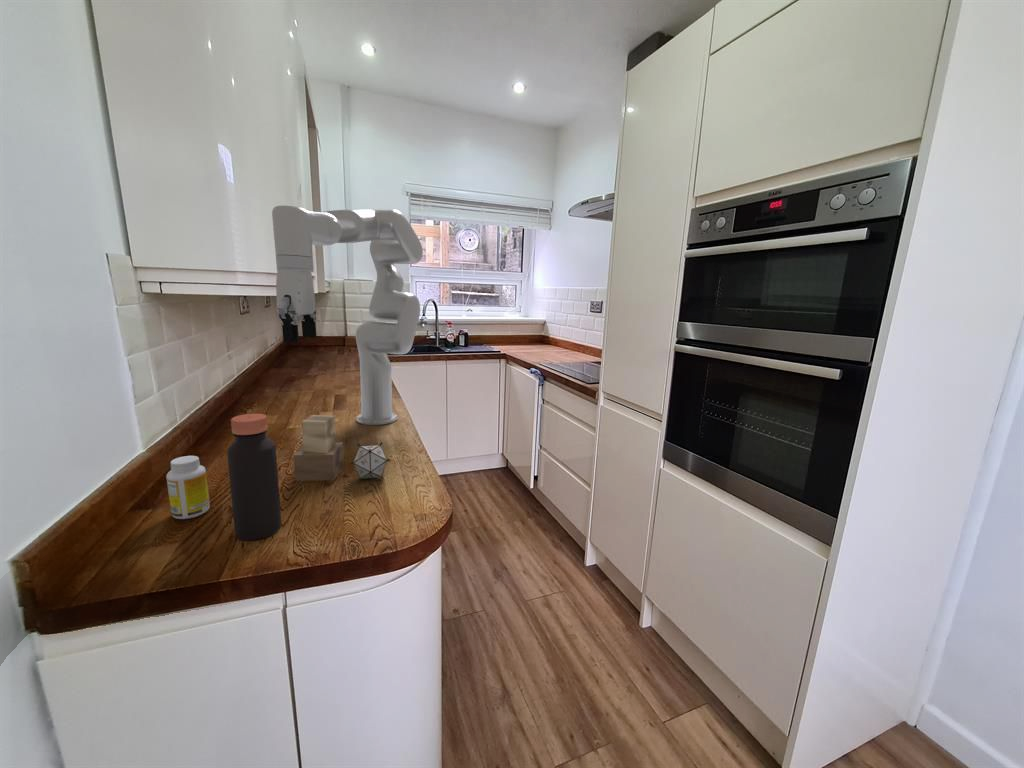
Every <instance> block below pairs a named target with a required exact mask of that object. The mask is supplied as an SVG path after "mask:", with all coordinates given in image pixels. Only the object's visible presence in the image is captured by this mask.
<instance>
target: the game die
mask: <svg viewBox="0 0 1024 768" xmlns="http://www.w3.org/2000/svg"><path fill="white" fill-rule="evenodd" d="M382 445H383V441H381V442H380V443H379V444H375V445H374V444H373V445H371V444H370V445H361V444H360V443H358V442H357V445H356V446H357V447H358V448H357V452H356V454H355V456H354V459H353V461H350V462H349V465H353V467H354V469H355V472H356V474H357V475H358V480H357V482H358V483H360V482H361V480H363V479H364V480H365V479H374V478H375V479H376V478H380V480H383V481H384V477H383V474H384V471H385V469H386V466H387V464H388V462H391V459H390V458H387V456H386V454H385V452H384V449H383V446H382Z"/></svg>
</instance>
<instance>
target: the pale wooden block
mask: <svg viewBox="0 0 1024 768" xmlns="http://www.w3.org/2000/svg"><path fill="white" fill-rule="evenodd" d="M335 417H336V416H335V415H324V414H323V415H321V414H311V415H310V416H308V417H307V418H305V419H303V420H301V433H302V447H303V452H315V453H327V452H328V451H329V450H331V449H332V448H333V447H334V446H335V445H336V441H337V440H336V419H335Z"/></svg>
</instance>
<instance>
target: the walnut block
mask: <svg viewBox="0 0 1024 768" xmlns="http://www.w3.org/2000/svg"><path fill="white" fill-rule="evenodd" d="M344 463H345V462H344V442H343V441H339V442H338V441H337V442H336V445H335V446H334V447H333V448H332V449H331V450H329V451H328V452H327V453H315V452H303V446H301V447H300V448H299V449H298V450H297V451H296V452H295V453H294V454H293V465H294V466H293V467H294V480H295V482H297V481H302V482H303V481H335V479H336V478H337V476H338V475H339V473H340V472H341V470H342V469H343V467H344V466H345V465H344Z"/></svg>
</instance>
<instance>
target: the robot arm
mask: <svg viewBox="0 0 1024 768" xmlns="http://www.w3.org/2000/svg"><path fill="white" fill-rule="evenodd" d="M271 214H272V216H271V217H272V227H273V228H272V230H273V240H274V253H275V263H276V281H275V282H276V285H275V287H276V288H275V291H276V293H275V294H276V312H277V314H278V317H279V319H280V325H281V329H282V331H281V332H282V339H283V343H287V344H288V343H293V344H296V343H299V342H300V338H299V336H300V335H299V324H296V323H297V320H298V317H299V316H301V318H302V320H301V321H300V322H301V332H302V333H301V335H302V338H313V339H314V338H317V325H316V324H317V323H316V320H317V317H316V314H317V311H316V309H317V302H316V295H315V294H316V293H315V288H314V286H315V285H314V280H313V275H312V273H315V270H314V257H313V256H314V255H313V254H314V253H313V246H332V245H334V244H335V245H336V244H356V243H362V242H363V243H365V242H369V241H370V242H369V253H370V257H371V259H372V262H373V265H374V267H375V271H376V281H375V285H374V289H373V292H372V295H371V299H370V303H369V309H368V312H369V315H370V317H371V318H372V319H374V320H376V321H367V322H363V323H361V324H359V326H358V327H357V328H356V331H355V341H356V342H355V343H356V346H357V350H358V356H359V371H360V372H359V374H360V376H359V377H360V379H359V380H360V404H361V405H360V407H361V409H360V411H361V413H360V414H358V415H357V416H356V418H355V419H356V422H357V423H359V424H361V425H366V426H367V425H368V426H381V425H387V424H391V423H394V422H396V421H397V420H398V415H397V414H396V413H395V412H393V399H392V398H393V384H392V383H393V382H392V381H393V380H392V379H393V378H392V374H393V373H392V372H393V371H392V369H393V368H392V364H391V361H390V359H389V357H388V355H387V354H391V355H406V354H407V353H409V352H410V351H411V349H412V347H413V344H414V340H415V336H416V332H417V330H418V329H417V327H418V324H419V320H420V315H421V305H420V304H421V303H420V301H419V298H418V297H417V295H416V294H413V293H412V292H403V290H404V289H403V288H404V285H405V284H404V283H405V282H404V279H403V277H402V275H401V273H400V271H399V270H398V268H397V267H396V266H395V264H396V265H416V264H418V263H419V262H420V261H421V260H422V258H423V252H424V251H423V250H424V249H423V246H422V243H421V241H420V239H419V237H418V235H417V233H416V232H415V230H414V229H413V227H412V225H411V223H410V222H409V220H408V219H407V217H406V216H405V215H404V214H403V213H402V212H401V211H399V210H397V209H336V210H326V211H324V210H323V211H313V210H307V209H305V208H303V207H300V206H293V205H275V206H274V207H273V208H272V211H271Z"/></svg>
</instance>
